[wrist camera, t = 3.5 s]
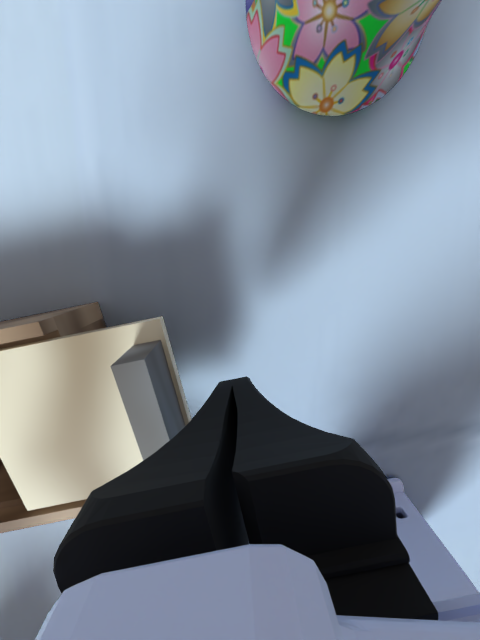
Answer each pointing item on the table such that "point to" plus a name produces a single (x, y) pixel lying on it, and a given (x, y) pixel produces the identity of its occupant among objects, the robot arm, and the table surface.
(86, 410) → the lid
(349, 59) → the mug
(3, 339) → the wooden box
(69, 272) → the table surface
